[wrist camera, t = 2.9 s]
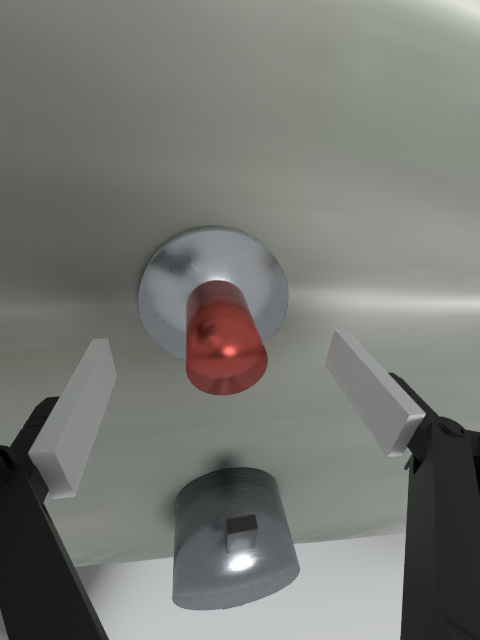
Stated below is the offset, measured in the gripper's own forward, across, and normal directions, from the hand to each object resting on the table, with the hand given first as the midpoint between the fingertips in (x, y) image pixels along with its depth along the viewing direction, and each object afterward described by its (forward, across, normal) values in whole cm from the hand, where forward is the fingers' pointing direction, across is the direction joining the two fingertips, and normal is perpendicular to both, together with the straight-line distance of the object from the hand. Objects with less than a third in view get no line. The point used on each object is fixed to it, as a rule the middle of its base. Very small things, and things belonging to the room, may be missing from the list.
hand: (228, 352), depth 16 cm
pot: (+7, +2, -30) cm, 31 cm away
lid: (+6, 0, 0) cm, 6 cm away
